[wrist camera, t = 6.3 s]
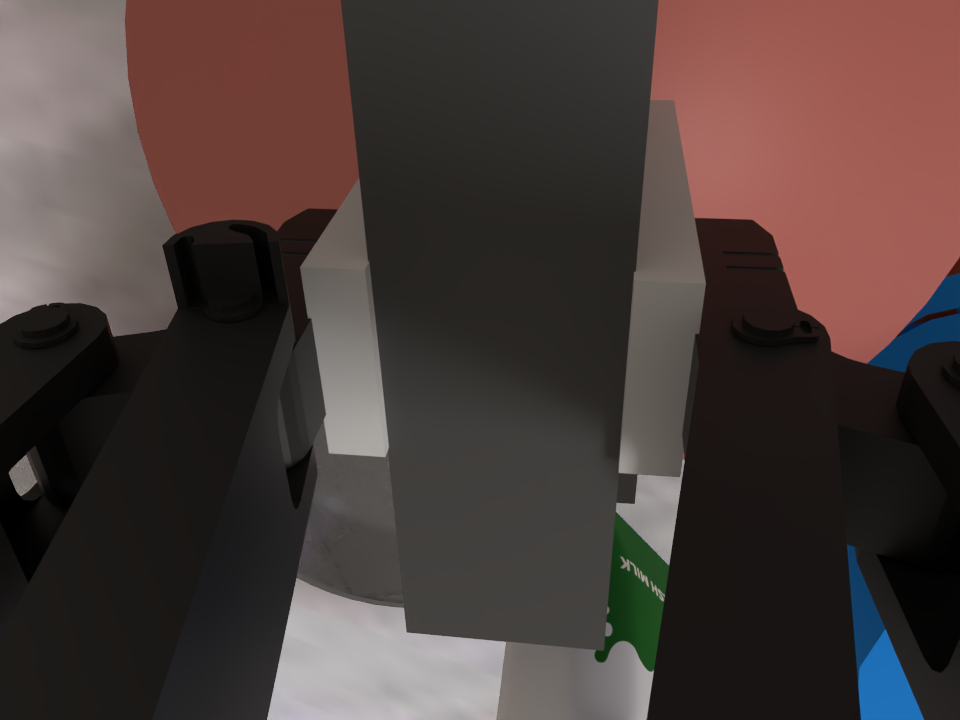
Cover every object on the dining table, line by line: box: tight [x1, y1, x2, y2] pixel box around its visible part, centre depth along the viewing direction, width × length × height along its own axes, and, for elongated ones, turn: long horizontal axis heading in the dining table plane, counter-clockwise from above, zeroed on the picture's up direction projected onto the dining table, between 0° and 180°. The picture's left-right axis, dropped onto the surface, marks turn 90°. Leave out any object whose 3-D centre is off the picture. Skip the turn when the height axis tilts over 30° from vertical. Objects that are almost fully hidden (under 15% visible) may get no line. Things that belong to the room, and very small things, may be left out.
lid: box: [125, 0, 960, 651], centre depth 14 cm, size 17×17×10 cm
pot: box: [297, 420, 637, 607], centre depth 41 cm, size 21×16×12 cm
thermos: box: [847, 257, 960, 720], centre depth 29 cm, size 11×11×25 cm
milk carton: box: [497, 512, 669, 720], centre depth 45 cm, size 9×9×20 cm
